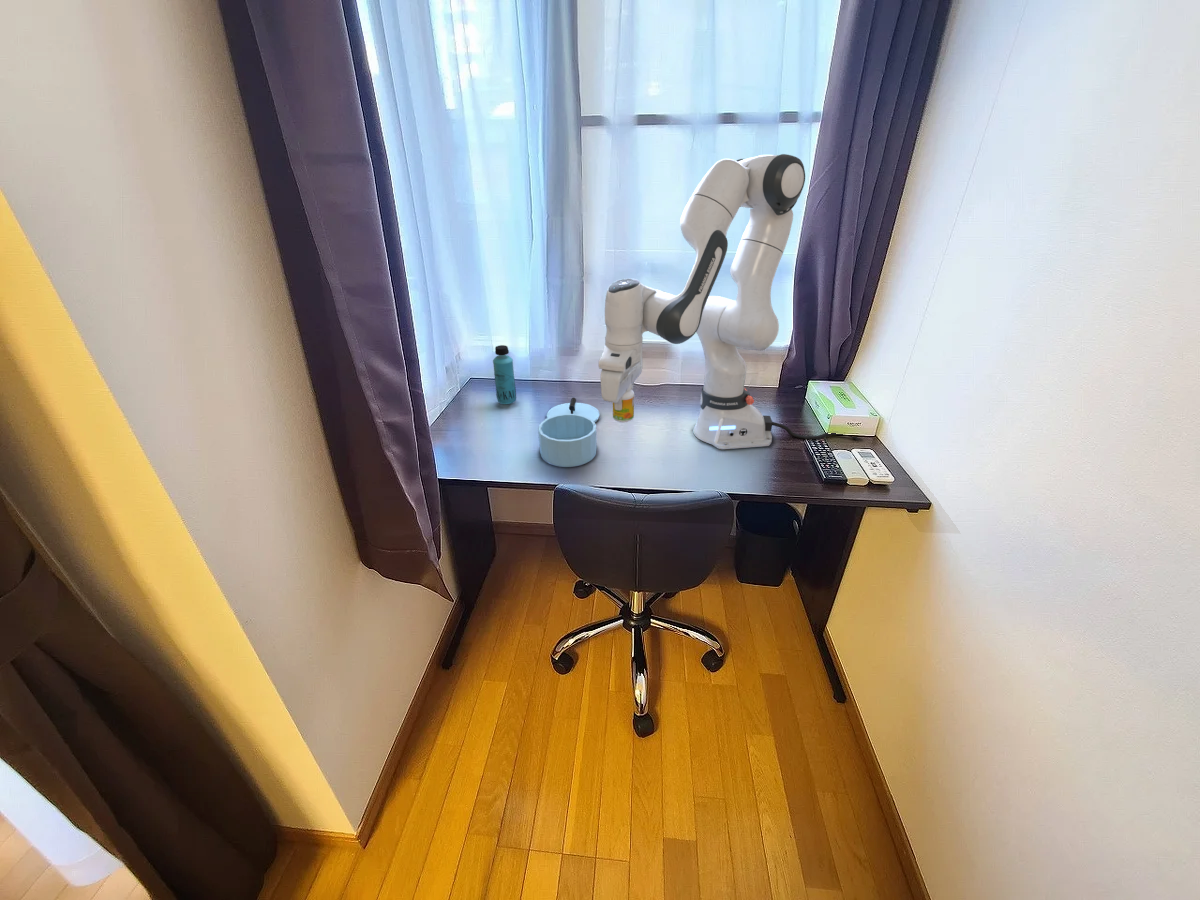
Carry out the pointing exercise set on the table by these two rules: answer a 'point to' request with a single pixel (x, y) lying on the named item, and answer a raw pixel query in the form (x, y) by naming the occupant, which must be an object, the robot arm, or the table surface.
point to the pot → (567, 440)
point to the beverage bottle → (504, 376)
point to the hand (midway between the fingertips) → (623, 403)
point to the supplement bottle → (625, 407)
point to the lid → (575, 410)
